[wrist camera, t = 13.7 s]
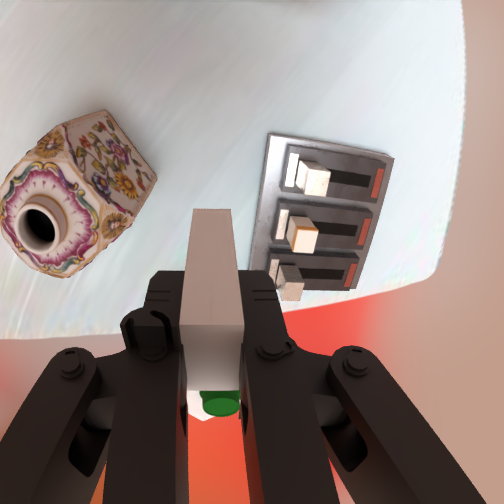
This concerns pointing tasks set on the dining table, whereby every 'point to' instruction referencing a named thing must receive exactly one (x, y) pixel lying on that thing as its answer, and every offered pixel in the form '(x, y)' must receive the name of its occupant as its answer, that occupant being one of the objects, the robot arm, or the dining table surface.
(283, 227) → the breaker panel
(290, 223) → the toggle
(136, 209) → the decorative jar
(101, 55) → the dining table surface
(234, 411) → the milk carton
